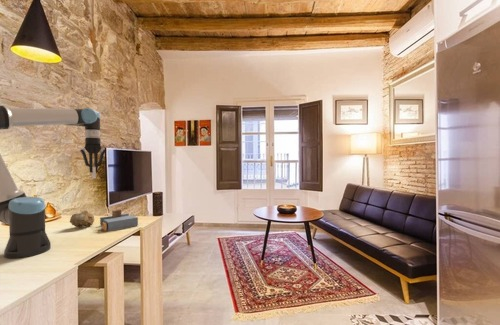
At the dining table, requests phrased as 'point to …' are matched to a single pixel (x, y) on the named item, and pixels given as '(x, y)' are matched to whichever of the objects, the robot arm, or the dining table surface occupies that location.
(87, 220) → the rock
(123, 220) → the dock block
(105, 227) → the lock pin
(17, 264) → the dining table surface
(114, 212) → the peg
